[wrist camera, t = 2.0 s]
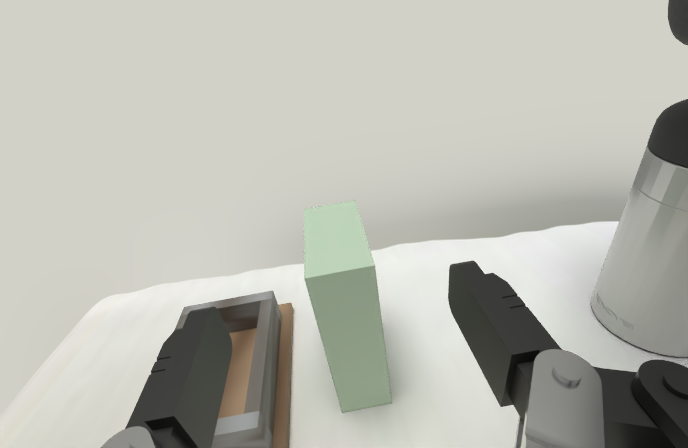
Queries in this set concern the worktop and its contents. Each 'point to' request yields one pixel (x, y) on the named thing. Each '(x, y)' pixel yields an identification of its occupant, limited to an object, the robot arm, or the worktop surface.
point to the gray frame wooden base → (254, 372)
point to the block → (346, 304)
